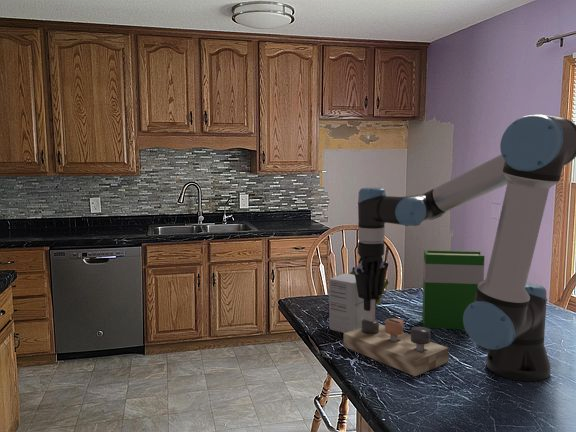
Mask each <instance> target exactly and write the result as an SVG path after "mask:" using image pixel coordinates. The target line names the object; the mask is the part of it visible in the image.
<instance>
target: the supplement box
mask: <svg viewBox="0 0 576 432" xmlns="http://www.w3.org/2000/svg"><path fill="white" fill-rule="evenodd" d="M328 284H329V285H328V292H329V293H328V295H329V296H328V297H329V299H328V300H329V301H328V302H329V303H328V305H329V306H328V308H329V309H328V310H329V311H328V313H329V314H328V315H329V321H328V322H329V324H328V325H329V330H331V331H334V332H335V331H336V332H339V333H343V334H344V333H346V332H349V331H352V330H356V329H359V328H362V320H363V319H365V310H364V299H362V298H359V297H358V291H357V285H356V279H355V275H352V274H349V273H347V272H346V273H341V274H340V275H337V276H334V277H331V278H329V280H328Z"/></svg>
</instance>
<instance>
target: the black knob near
mask: <svg viewBox="0 0 576 432" xmlns="http://www.w3.org/2000/svg"><path fill="white" fill-rule="evenodd" d="M410 335H411V341H412V342H413V343H416V351H417V352H420V353H422V352H424V344H428V343H430V342H431V328H425V327H424V326H414V327H412V328H410Z"/></svg>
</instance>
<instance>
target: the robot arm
mask: <svg viewBox="0 0 576 432" xmlns="http://www.w3.org/2000/svg"><path fill="white" fill-rule="evenodd" d="M499 145H500V146H499V149H500V154H499V155H497V156H495V157H493V158H491V159H488V160H487V161H485V162H483V163H481V164H479V165H478V166H475V167H473V168H471V169H469V170H468V171H466V172H463V173H462V174H460V175H458V176H456V177H454V178H452V179H450V180H448V181H446V182H444V183H442V184H439V185H438V186H436V187H434V188H432V189H430V190H428V191H426V192H424V193H422V194H415V195H406V196H391V195H386V189H384V187H363V188H360V189H359V191H358V202H357V210H358V213H357V215H358V217H357V218H358V223H357V226H358V227H357V240H358V242H357V254H358V255H359V260H358V264H357V266H356V267H355V266H354V267H352V268H351V269H352V270H351V272H352V271H353V272H354V274H355V279H356V285H357V291H358V297H359V298H362V299H364V310H365V320H367V321H369V322H374V321H375V319H376V309H377V307H376V305H377V304H376V299H379V298H380V297H378V296H379V295H380V296H381V295H382V296H383V294H382V290H383V285H384V281H385V280H386V279H385V278H386V274H387V272H386V271H387V269H388V267H389V263H388V262H385V261H384V260H383V256H384V254H385V243H384V241H385V233H386V232H385V230H386V229H385V224H393V225H400V226H401V225H402V226H405V227H412V226H413V227H418V226H420V225H421V224H422V223H423V222H424V221H429V220H430V221H431V220H435V219H439V218H441V217H442V216H444V214H446V213H448V212H450V211H451V210H454V209H455V208H458V207H460V206H462V205H464V204H467V203H469V202H472V201H474V200H476V199H479V198H480V197H483V196H484V195H488V194H489V193H491V192H494V191H495V190H496V191H497V189H500V188H503V187H504V186H506V188H505V192H504V197H503V201H502V206H501V211H500V215H499V219H498V225H497V228H496V234H495V237H494V242H493V247H492V251H491V255H490V258H489V259H490V260H489V265H488V269H487V273H486V276H485V277H486V278H485V279H484V281H482V282H480V283H479V284H478V286H477V291H476V295H475V299H474V302H473V303H471V304H470V305H469V306H468V307H467V308H466V310H465V312H464V315H463V324H464V328H465V331H466V333H467V334H468V336H469V338H470V339H471V340H472V341H473V342H474V343H475V344H476V345H478V346H480V347H482V348H484V349H486V350H487V349H488V352H487V356H486V364H485V365H486V367H487V369H488V370H489V371H490V372H492V373H494V374H495V375H497V376H501V377H503V378H506V379H509V380H514V381H519V382H540V381H544V380H546V379H548V378H549V377H550V376H551V362H550V359H549V357H548V352H547V350H546V345H545V331H546V319H547V318H546V317H547V302H548V298H547V289H546V288H545V287H544V286H542V285H540V284H537V283H532V282H528V278H529V274H530V270H531V266H532V262H533V258H534V253H535V249H536V245H537V241H538V237H539V233H540V229H541V225H542V221H543V217H544V213H545V209H546V204H547V200H548V196H549V192H550V189H551V188H552V187H554V186H555V185H557V184H558V183H560V180H561V176H562V172H563V168H564V166H566V165H567V164H569V163H571V162H572V161H573V160H574V159H575V158H576V124H575V122H574V121H572V120H570V119H569V118H566V117H563V116H554V115H552V116H551V115H546V114H530V115H529V114H528V115H524V116H522V117H520V118H517V119H516V120H514V121H513V122H511V123H510V125H508V126H507V128H505V130H504V132H503V134H502V136H501V139H500V144H499ZM384 279H385V280H384ZM378 290H379V291H378ZM380 299H381V298H380Z"/></svg>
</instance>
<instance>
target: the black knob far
mask: <svg viewBox="0 0 576 432" xmlns="http://www.w3.org/2000/svg"><path fill="white" fill-rule="evenodd" d="M379 324H380V321H379V320H378V319H376V318H375V321H374V322H369V321H367V320H365V319H363V320H362V332H363V333H366V334H376V333H378V332H379Z"/></svg>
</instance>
